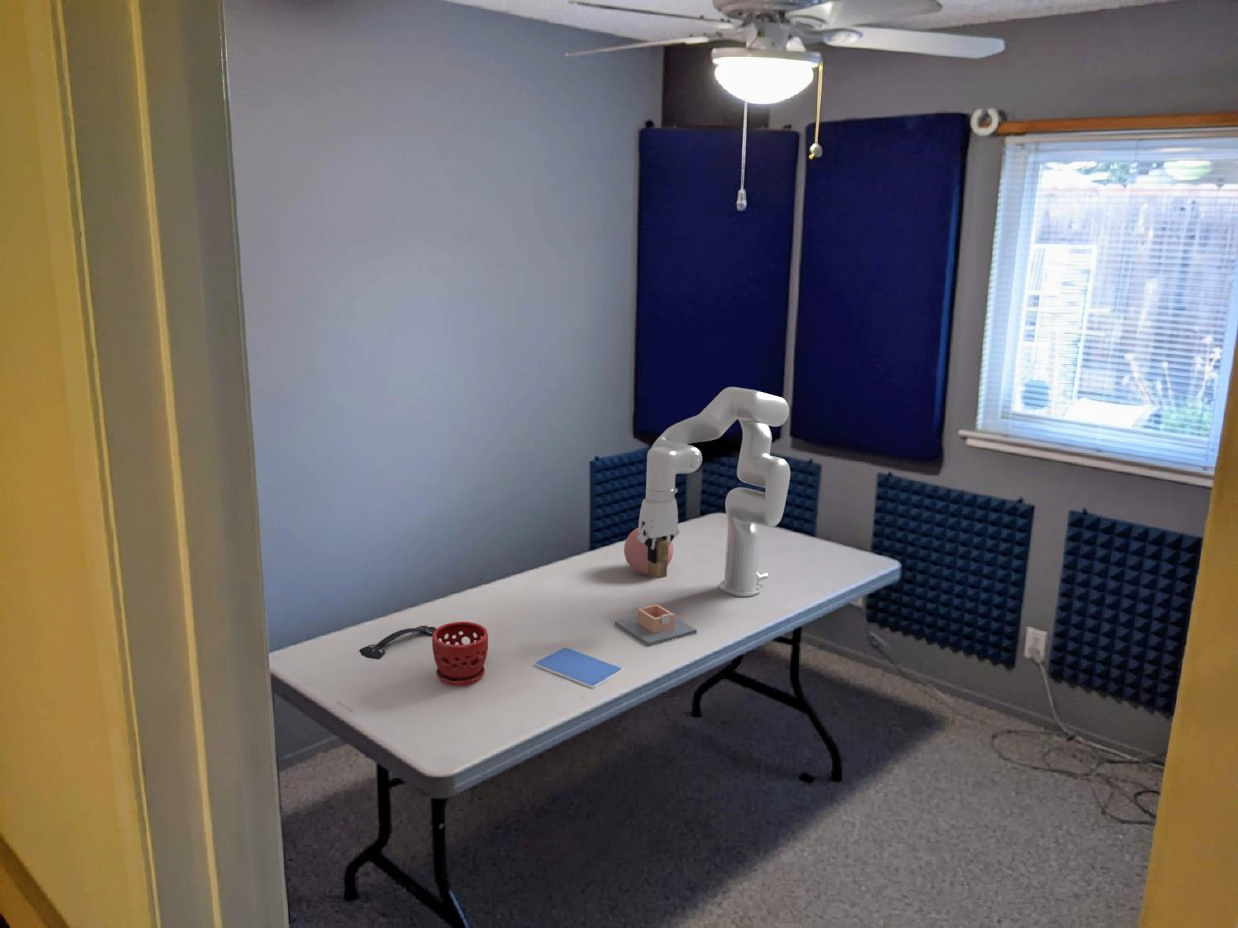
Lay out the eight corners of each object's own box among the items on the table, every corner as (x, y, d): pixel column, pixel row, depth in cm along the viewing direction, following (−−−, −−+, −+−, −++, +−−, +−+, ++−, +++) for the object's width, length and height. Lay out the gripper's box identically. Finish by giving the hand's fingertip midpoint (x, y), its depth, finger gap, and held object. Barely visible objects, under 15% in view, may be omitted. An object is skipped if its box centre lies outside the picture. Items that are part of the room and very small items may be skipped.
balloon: (689, 568, 304) (691, 522, 300) (653, 585, 288) (655, 537, 284) (650, 557, 313) (652, 512, 309) (613, 573, 297) (614, 527, 293)
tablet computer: (624, 672, 234) (625, 667, 233) (593, 691, 224) (593, 686, 224) (564, 650, 245) (564, 645, 245) (532, 667, 235) (532, 662, 235)
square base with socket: (661, 612, 269) (662, 593, 267) (696, 633, 256) (697, 613, 254) (614, 624, 260) (615, 605, 258) (648, 646, 247) (649, 626, 246)
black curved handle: (350, 654, 240) (349, 642, 239) (428, 624, 258) (428, 613, 258) (371, 666, 234) (371, 653, 233) (450, 634, 253) (449, 623, 252)
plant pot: (422, 677, 228) (421, 631, 225) (467, 660, 237) (466, 616, 234) (454, 697, 219) (453, 649, 216) (499, 679, 228) (499, 633, 225)
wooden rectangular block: (656, 571, 256) (658, 536, 254) (666, 576, 253) (668, 541, 250) (647, 573, 255) (648, 538, 252) (657, 578, 251) (659, 542, 249)
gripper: (676, 487, 256) (673, 551, 260) (626, 495, 247) (624, 561, 251) (693, 493, 250) (690, 559, 254) (643, 502, 241) (640, 570, 245)
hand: (657, 560), depth 253 cm, fingers closed on wooden rectangular block, 3 cm apart
